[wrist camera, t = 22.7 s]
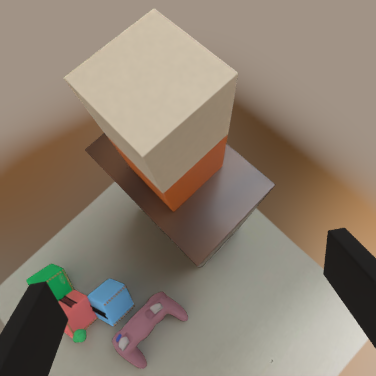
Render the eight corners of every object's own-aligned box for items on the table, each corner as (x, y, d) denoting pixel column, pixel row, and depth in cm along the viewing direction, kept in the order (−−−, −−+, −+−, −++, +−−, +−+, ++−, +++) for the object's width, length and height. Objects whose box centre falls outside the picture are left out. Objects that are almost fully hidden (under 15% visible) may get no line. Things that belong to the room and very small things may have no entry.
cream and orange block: (222, 166, 22) (238, 72, 11) (173, 212, 21) (142, 157, 11) (177, 124, 23) (153, 7, 13) (129, 166, 22) (62, 77, 12)
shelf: (240, 225, 42) (275, 184, 21) (201, 267, 41) (197, 266, 20) (180, 169, 46) (158, 85, 25) (141, 205, 44) (84, 149, 23)
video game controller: (175, 294, 41) (153, 282, 36) (193, 317, 38) (172, 307, 33) (128, 345, 40) (99, 339, 34) (144, 372, 37) (114, 371, 31)
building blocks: (92, 286, 45) (136, 306, 38) (47, 322, 40) (87, 355, 32) (74, 248, 43) (116, 260, 35) (23, 281, 37) (60, 305, 29)
